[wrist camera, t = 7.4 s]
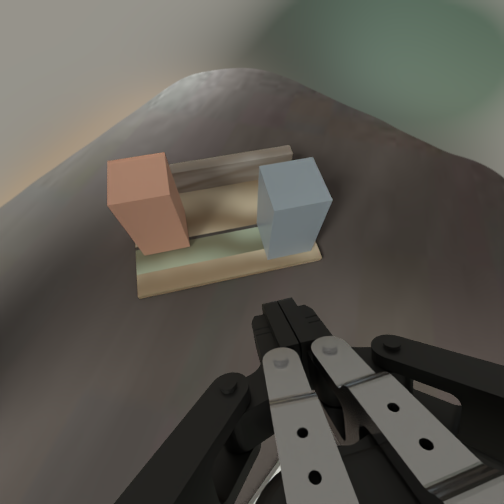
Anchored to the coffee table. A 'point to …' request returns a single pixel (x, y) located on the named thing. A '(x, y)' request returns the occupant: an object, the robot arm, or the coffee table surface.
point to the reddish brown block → (147, 202)
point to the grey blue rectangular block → (290, 206)
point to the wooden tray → (217, 226)
